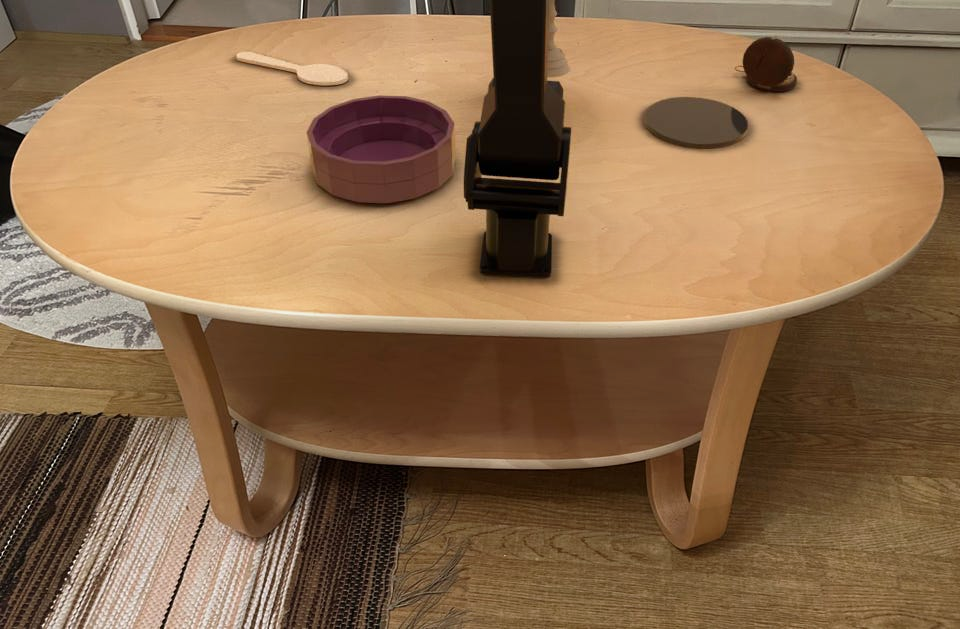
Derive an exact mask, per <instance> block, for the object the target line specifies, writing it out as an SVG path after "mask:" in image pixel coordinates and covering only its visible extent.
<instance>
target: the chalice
mask: <svg viewBox="0 0 960 629" xmlns="http://www.w3.org/2000/svg"><path fill="white" fill-rule="evenodd" d="M555 1H556V0H549V34H548V71H547V78H560V77H564V76H565V75H567V74H569V73H570V72H571V67H570V65H569V64H568V59H567V58H566V54H565V52H564V51H563V50H562V49H561V48H559V47H557V45H556V44H555V34H556V33H557V31H558V28H557V27H556V23H555V19H556V16H557V15H558V12H557V10H556V4H555Z"/></svg>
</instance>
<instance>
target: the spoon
mask: <svg viewBox="0 0 960 629" xmlns="http://www.w3.org/2000/svg"><path fill="white" fill-rule="evenodd" d="M235 57H236V61H238V62H243V63H247V64H253V65H256V66H263V67H267V68H272V69H277V70H280V71H287V72H290V73H291V72H292V73H296V76H297V79H298V80H299V81H300V82H302V83H305V84H308V85H315V86H336V85H341V84H345V83H347V82H348V80H349V74H348V72H347V71H346V70H345V69H343V68H341V67H339V66H337V65H332V64H328V63H321V62H320V63H313V64H308V65H300V64H296V63H294V62H291V61H286V60H283V59H278V58H276V57H271V56H267V55H265V54H264V55H263V54H261V53H260V54H259V53H258V52H255V51H253V52H252V51H239V52H238V53H237V54H236V55H235Z"/></svg>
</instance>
